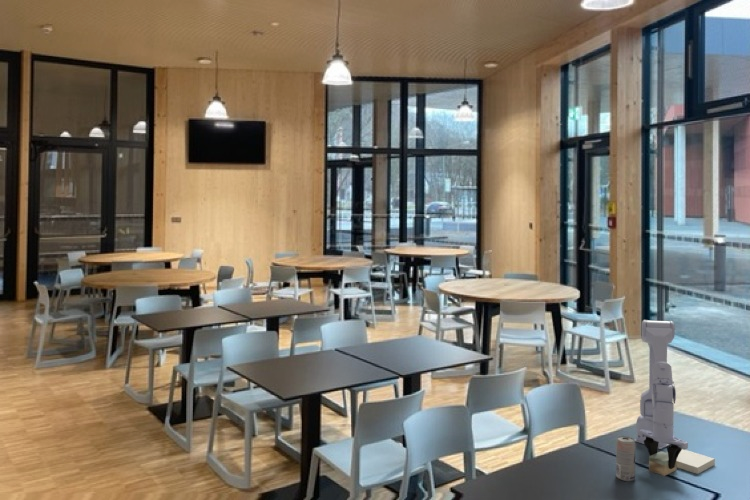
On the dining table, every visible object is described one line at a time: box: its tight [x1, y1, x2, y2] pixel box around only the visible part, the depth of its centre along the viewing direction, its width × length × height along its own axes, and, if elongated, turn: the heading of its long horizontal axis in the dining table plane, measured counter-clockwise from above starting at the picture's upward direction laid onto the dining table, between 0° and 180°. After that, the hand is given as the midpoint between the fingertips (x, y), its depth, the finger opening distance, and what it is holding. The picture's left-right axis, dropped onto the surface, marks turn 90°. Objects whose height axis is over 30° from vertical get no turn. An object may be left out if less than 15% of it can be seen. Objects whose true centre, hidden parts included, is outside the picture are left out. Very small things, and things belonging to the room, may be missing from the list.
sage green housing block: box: [648, 450, 678, 477], centre depth 190 cm, size 5×7×4 cm
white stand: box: [666, 449, 716, 475], centre depth 195 cm, size 12×11×2 cm
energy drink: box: [615, 435, 636, 482], centre depth 185 cm, size 5×5×12 cm
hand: (662, 465), depth 190 cm, fingers closed on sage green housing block, 5 cm apart
